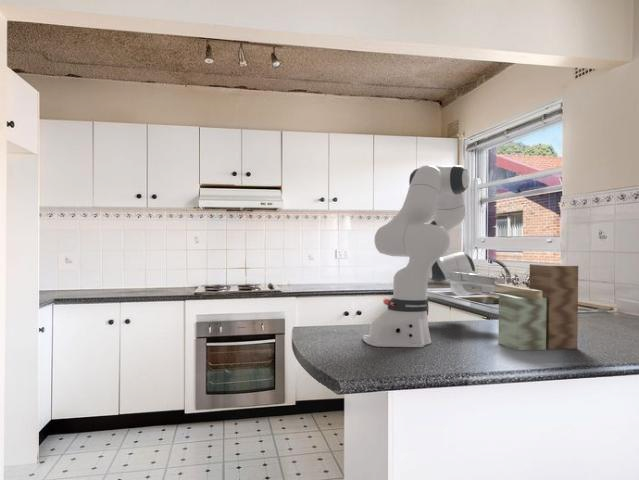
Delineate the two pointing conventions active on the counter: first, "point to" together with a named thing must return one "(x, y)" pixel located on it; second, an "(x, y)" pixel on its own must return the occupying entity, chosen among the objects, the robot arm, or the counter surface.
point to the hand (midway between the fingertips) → (483, 277)
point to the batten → (518, 291)
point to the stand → (542, 311)
